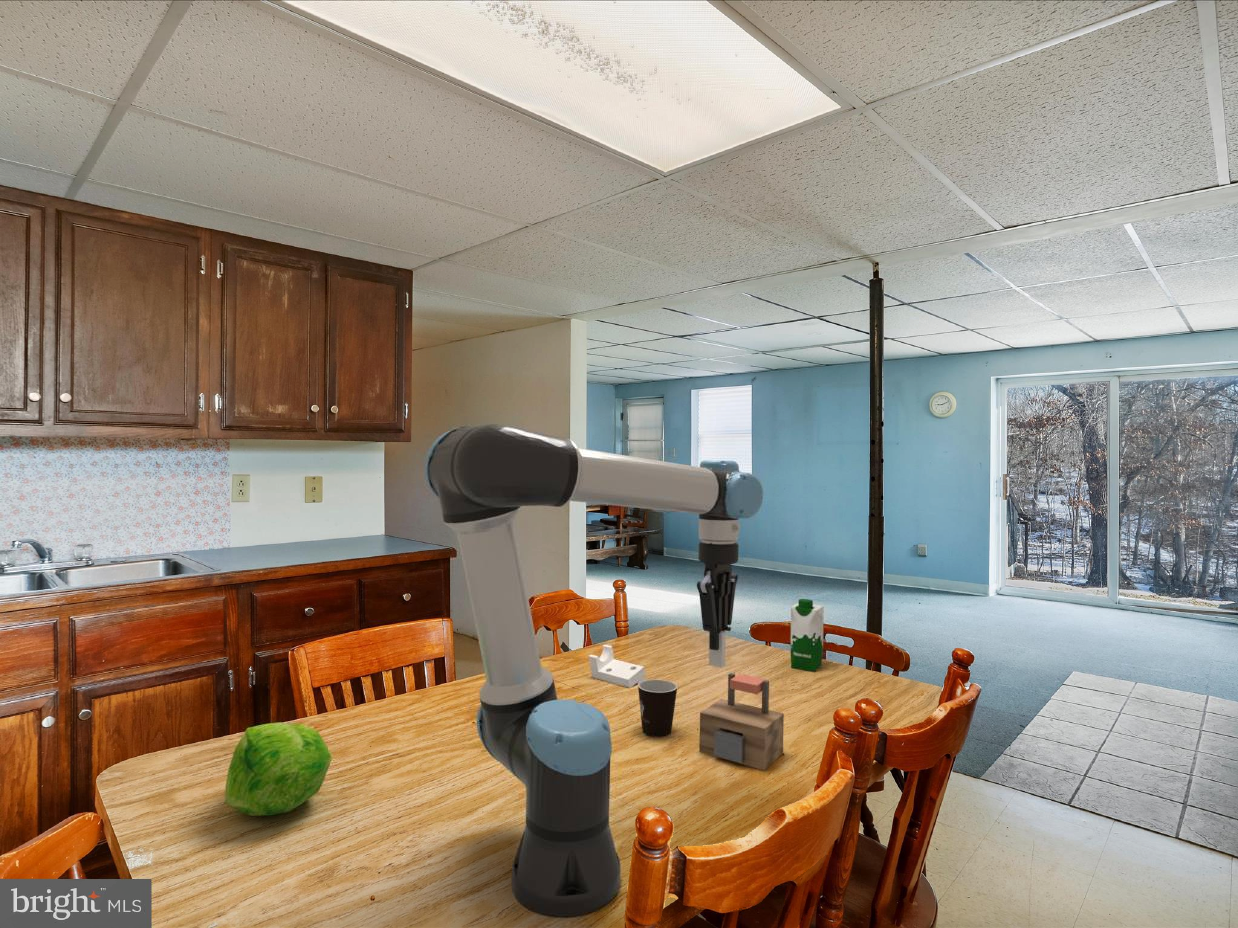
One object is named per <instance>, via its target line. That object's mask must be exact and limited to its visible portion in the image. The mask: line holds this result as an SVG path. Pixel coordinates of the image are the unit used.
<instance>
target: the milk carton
mask: <svg viewBox="0 0 1238 928" xmlns="http://www.w3.org/2000/svg"><path fill="white" fill-rule="evenodd" d="M824 606H825V605H819V604H814V600H812V599H808V598H799V599H798V603H795V604H794V605H792V606H790V668H791V669H795V670H801V671H802V670H803V671H806V672H812V673H815V672H817V671H818V670H819V669H820V668H821V667H822V665H823V664H822V663H823V653H824V612H825V611H824V610H825V609H824Z"/></svg>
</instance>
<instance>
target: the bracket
mask: <svg viewBox="0 0 1238 928" xmlns="http://www.w3.org/2000/svg"><path fill="white" fill-rule="evenodd" d="M588 661H589V665H590V671H591V678H594V679H597V680H600V681H604V682H607V683H611V684H613V685H618V686H622V687H625V688H629V689H631V688H632V687H634V686H635V685H638V684H639V683H640V682H642V681H645V680H647V679H646V672H645V666H643V665H639V664H634V663H631V662H626V661H622V660H618V659H615V657H614V650H613V645H610V644H603V645H602V651H601V655H600V657H599V656H598V655H595V654H589V655H588Z"/></svg>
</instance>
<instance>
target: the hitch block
mask: <svg viewBox="0 0 1238 928" xmlns="http://www.w3.org/2000/svg"><path fill="white" fill-rule="evenodd" d="M727 677H728V678H727V680H728V681H727V699H722V698H721V699H719V700H717V701H716V702H714V703H713V704H711V705H710V706H708V707H706V708H705V709H703V710H702V711H700V712H699V743H698V744H699V748H698V749H699V752H700V753H702V754H705V755H708V756H709V755H710V756H713V757H717V758H721V759H724V760H728V761H730V762H735V763H737V764H740V765H744V766H747V767H751V768H753V769H754V768H755V769H757V770H760V771H761V770H762V771H765V770H766V769H767V768H768V767H770V765H772V763H773V762H775V761H776V760H777V759H778V758H779V757H780V756H781V755H782V754H783V753H784V720H785V719H784V715H785V713H783V712H779V711H774V710H769V709H770V708H769V707H770V706H769V703H770V702H769V700H770V680H768V679H767V680H764V681H762V691H761V707H758V706H755V705H754V706H753V705H749V704H745V703H742V702H741V703H740V702H736V701H735V697H736V694H735V693H736V690H735V689H730V679H732V678H734V677H736V674H735V673H733V672H730V673H728V674H727ZM717 729H718V730H722V731H726V732H730V733H733V732H739V733H742V734H743V736H745V758H744V762H743V763H739V762H736V761H732V760H729V759H726V758H722V757H719V756H715V755H714V731H715V730H717Z"/></svg>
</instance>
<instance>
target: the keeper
mask: <svg viewBox="0 0 1238 928" xmlns="http://www.w3.org/2000/svg"><path fill="white" fill-rule="evenodd" d="M764 680H767V681H768V679H767V678H762V677H757V676H754V675H747V674H743V673H739V674H737V675H735V677H734V678H732V679H730V689H735V691H740V692H744V693H749V694H754V695H759V694H760V693H762V681H764Z"/></svg>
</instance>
